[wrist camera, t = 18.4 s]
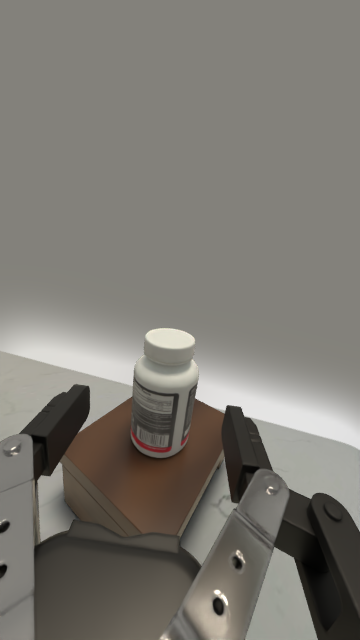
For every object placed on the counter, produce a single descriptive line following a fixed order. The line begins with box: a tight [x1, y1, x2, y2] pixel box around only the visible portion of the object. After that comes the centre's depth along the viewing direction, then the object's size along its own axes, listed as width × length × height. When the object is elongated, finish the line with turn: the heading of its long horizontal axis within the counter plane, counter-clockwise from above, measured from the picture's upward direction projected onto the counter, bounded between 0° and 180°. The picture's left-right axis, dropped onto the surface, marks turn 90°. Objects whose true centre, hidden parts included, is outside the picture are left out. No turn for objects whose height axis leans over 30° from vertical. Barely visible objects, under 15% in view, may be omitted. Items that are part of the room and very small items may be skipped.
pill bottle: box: [131, 328, 199, 458], centre depth 18 cm, size 5×5×10 cm
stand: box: [60, 396, 225, 537], centre depth 21 cm, size 11×13×6 cm
